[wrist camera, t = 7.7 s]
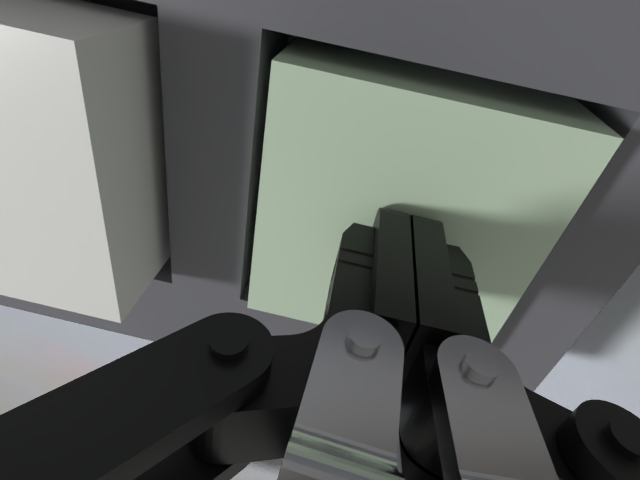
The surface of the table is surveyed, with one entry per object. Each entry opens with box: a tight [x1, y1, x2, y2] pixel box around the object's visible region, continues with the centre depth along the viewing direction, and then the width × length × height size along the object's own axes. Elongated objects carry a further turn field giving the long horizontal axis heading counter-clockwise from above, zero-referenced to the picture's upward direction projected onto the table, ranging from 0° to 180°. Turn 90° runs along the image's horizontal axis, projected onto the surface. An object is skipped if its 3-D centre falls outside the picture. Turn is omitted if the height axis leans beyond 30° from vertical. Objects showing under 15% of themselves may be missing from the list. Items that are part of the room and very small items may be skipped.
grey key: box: [0, 0, 171, 323], centre depth 10 cm, size 7×7×3 cm
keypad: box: [0, 0, 640, 392], centre depth 12 cm, size 14×32×4 cm, turn 80°
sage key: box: [247, 36, 623, 343], centre depth 11 cm, size 7×7×3 cm
